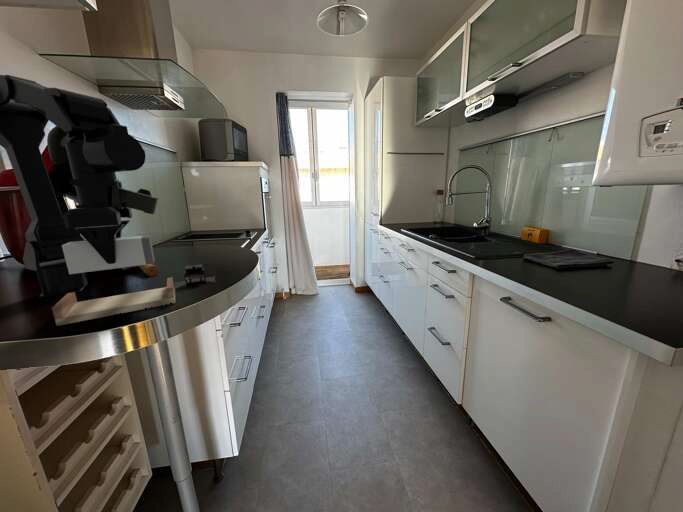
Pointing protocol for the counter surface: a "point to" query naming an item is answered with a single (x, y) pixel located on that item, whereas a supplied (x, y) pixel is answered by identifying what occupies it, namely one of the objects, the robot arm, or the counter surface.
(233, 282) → the counter surface
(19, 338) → the counter surface
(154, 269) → the kendama
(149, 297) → the cradle
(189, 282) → the dark piece
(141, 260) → the grey-ended white block
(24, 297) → the counter surface
